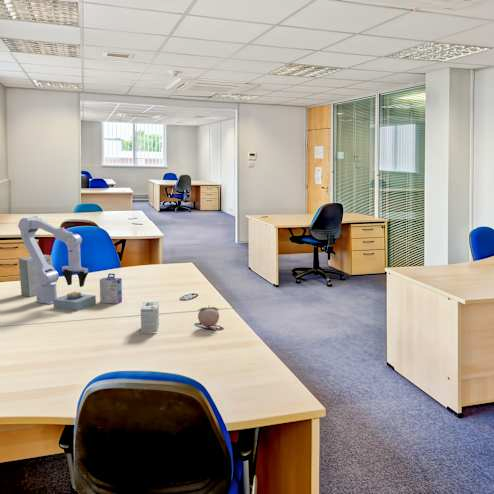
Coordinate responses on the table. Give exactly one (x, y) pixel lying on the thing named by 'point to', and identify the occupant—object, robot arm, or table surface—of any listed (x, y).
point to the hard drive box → (30, 275)
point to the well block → (74, 302)
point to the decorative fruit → (208, 316)
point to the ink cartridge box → (111, 289)
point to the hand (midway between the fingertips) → (75, 285)
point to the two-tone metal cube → (74, 295)
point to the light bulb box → (149, 317)
